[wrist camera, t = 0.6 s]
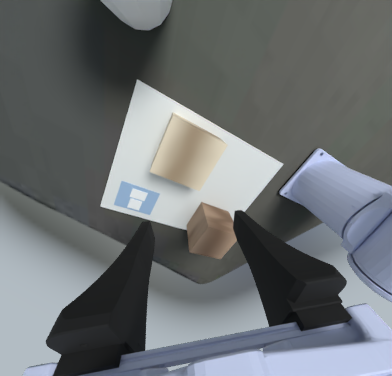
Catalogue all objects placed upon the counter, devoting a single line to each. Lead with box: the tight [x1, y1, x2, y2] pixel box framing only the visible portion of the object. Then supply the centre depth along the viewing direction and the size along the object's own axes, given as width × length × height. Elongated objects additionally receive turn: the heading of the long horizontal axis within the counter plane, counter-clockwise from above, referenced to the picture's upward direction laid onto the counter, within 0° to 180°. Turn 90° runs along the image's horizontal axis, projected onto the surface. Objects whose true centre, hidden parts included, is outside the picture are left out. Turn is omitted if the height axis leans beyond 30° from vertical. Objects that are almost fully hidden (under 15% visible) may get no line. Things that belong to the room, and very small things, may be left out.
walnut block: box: [187, 202, 237, 259], centre depth 22 cm, size 5×5×5 cm
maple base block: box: [150, 112, 228, 191], centre depth 17 cm, size 6×6×3 cm
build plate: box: [100, 79, 283, 230], centre depth 21 cm, size 20×16×1 cm
